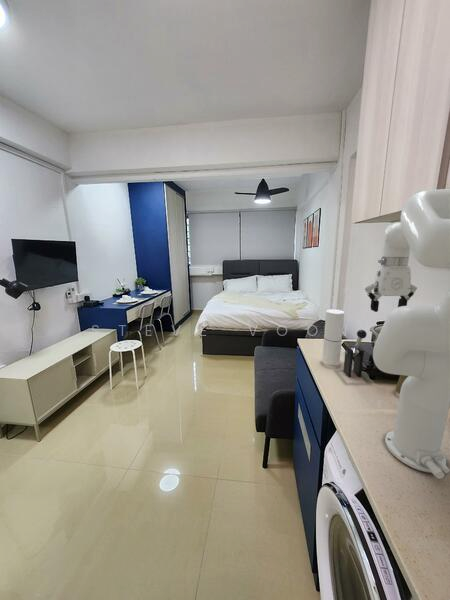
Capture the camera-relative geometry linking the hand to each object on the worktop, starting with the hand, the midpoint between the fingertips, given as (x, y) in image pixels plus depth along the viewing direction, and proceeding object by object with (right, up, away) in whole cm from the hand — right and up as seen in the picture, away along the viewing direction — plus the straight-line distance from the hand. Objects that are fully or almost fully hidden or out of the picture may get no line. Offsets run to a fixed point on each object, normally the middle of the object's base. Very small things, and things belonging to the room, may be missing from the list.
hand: (387, 310), depth 86 cm
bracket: (-6, -28, +13) cm, 31 cm away
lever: (-7, -14, +6) cm, 17 cm away
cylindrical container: (-10, -26, +23) cm, 36 cm away
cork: (+6, -31, 0) cm, 31 cm away
